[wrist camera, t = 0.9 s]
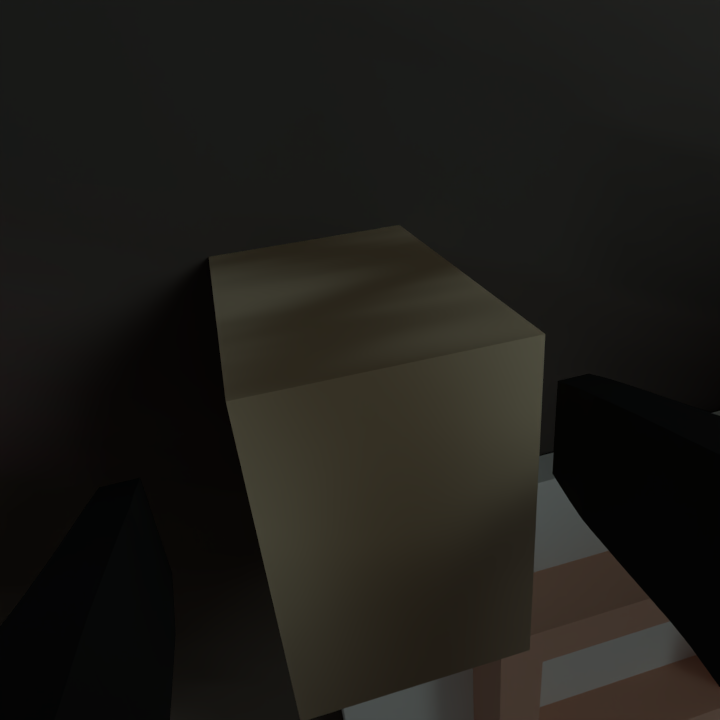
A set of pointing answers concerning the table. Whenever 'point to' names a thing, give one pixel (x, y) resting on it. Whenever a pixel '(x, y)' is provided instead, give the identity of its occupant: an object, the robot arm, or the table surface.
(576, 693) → the holder
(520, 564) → the oak block
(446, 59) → the table surface
